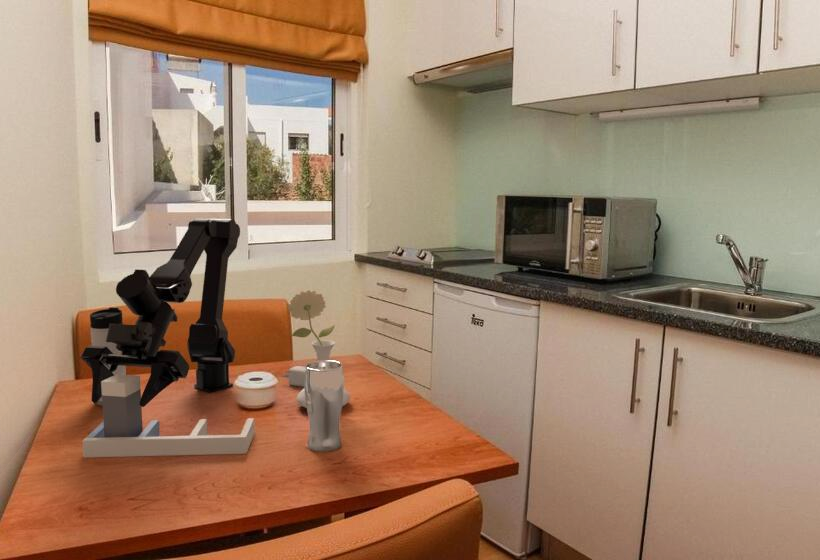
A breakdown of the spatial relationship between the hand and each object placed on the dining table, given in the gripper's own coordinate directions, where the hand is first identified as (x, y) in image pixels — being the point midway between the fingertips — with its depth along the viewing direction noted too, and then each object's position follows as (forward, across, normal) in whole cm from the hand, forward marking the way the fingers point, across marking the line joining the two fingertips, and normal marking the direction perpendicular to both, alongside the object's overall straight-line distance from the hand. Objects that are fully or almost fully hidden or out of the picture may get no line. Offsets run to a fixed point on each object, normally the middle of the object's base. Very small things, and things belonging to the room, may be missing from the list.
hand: (117, 404), depth 111 cm
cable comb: (+3, +8, +8) cm, 12 cm away
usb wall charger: (-24, +18, +36) cm, 46 cm away
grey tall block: (+4, 0, +6) cm, 8 cm away
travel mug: (-10, -17, +21) cm, 29 cm away
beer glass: (0, +35, +12) cm, 37 cm away
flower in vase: (-14, +28, +26) cm, 40 cm away
